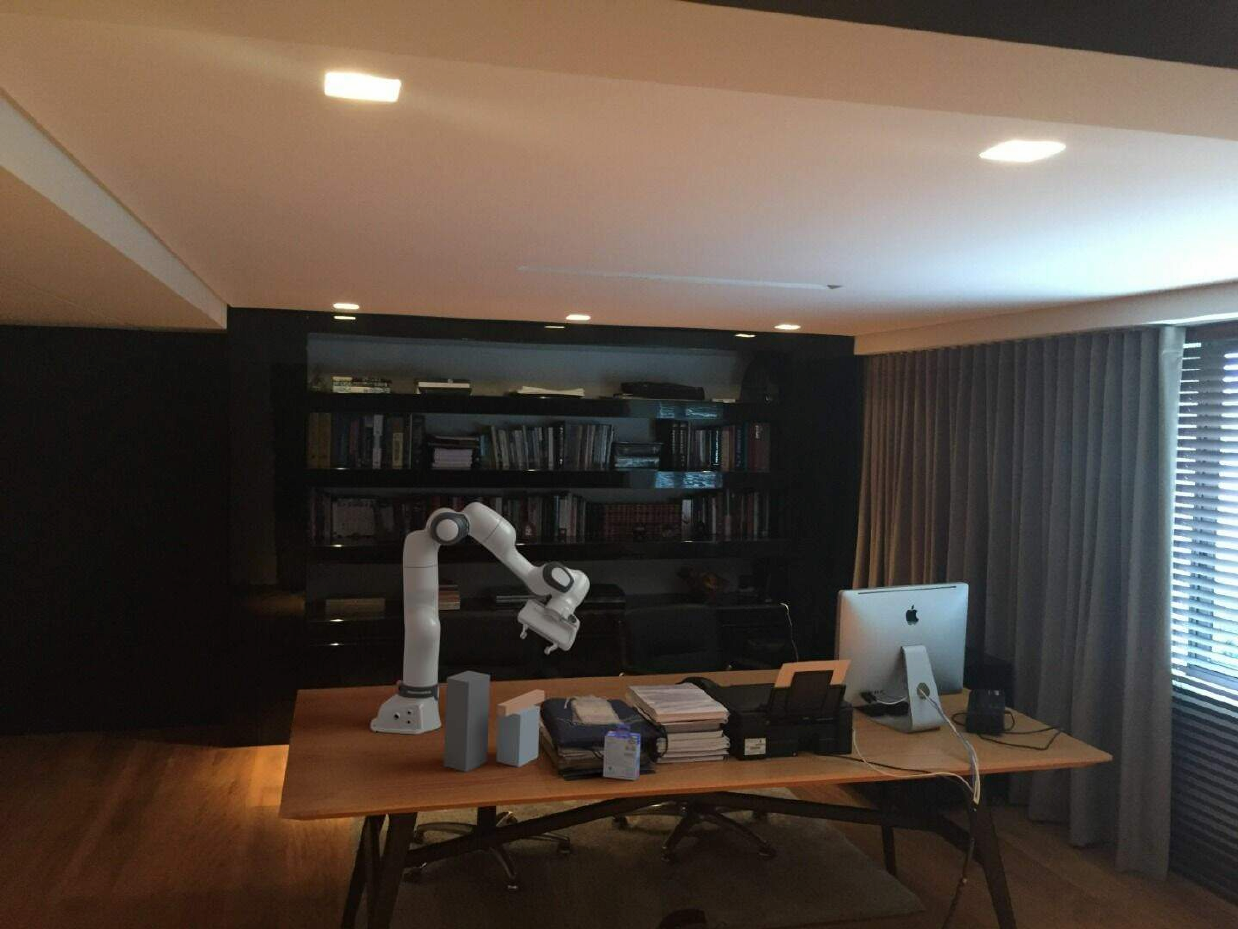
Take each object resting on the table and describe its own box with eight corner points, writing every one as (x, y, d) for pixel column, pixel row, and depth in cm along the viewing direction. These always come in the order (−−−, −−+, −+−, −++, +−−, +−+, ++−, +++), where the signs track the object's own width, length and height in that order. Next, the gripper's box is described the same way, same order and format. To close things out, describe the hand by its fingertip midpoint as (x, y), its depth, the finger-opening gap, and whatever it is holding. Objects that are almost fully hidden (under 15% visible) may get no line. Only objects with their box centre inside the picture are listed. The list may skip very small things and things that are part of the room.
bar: (536, 698, 305) (536, 689, 305) (544, 700, 304) (544, 691, 304) (497, 714, 288) (497, 704, 288) (505, 716, 286) (506, 706, 286)
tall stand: (465, 756, 296) (468, 670, 295) (486, 762, 293) (489, 675, 291) (443, 766, 288) (446, 677, 286) (465, 772, 284) (468, 682, 283)
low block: (516, 752, 302) (517, 702, 301) (537, 757, 298) (539, 706, 297) (496, 761, 293) (498, 709, 293) (518, 767, 289) (520, 715, 289)
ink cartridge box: (639, 774, 288) (641, 725, 287) (636, 781, 282) (638, 731, 281) (606, 771, 289) (608, 722, 289) (602, 777, 284) (604, 727, 283)
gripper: (531, 592, 327) (507, 624, 320) (583, 624, 323) (560, 657, 316) (530, 600, 333) (507, 632, 325) (581, 632, 329) (559, 665, 321)
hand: (533, 645), depth 321 cm, fingers open, 8 cm apart
